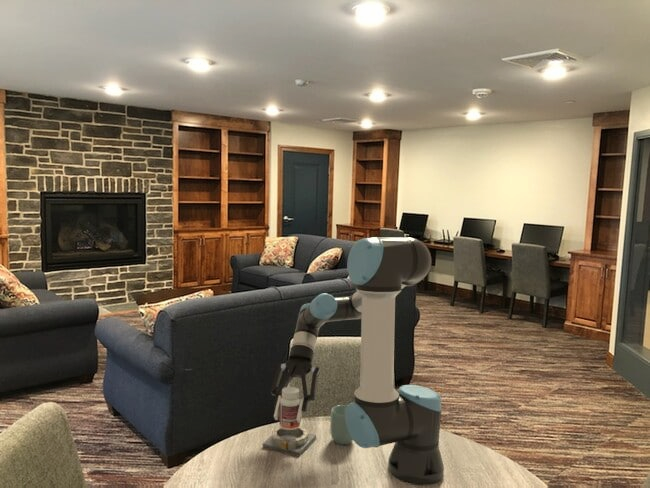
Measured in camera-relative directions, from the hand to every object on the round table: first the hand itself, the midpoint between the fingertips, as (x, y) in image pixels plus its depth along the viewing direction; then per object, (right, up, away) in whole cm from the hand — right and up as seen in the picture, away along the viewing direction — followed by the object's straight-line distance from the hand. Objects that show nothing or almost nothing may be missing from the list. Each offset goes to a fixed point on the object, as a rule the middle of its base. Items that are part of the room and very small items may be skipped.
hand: (287, 419), depth 159 cm
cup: (+16, -9, +6) cm, 20 cm away
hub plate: (+1, -8, +4) cm, 9 cm away
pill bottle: (0, -3, +4) cm, 5 cm away
